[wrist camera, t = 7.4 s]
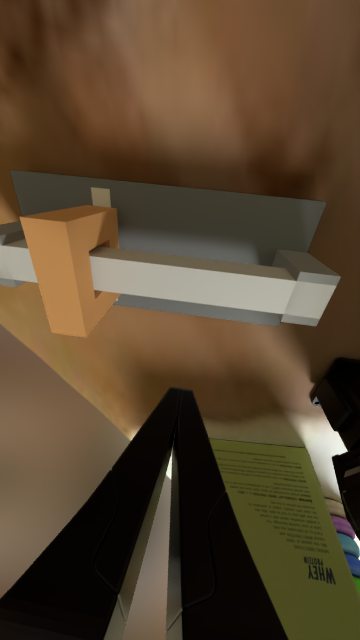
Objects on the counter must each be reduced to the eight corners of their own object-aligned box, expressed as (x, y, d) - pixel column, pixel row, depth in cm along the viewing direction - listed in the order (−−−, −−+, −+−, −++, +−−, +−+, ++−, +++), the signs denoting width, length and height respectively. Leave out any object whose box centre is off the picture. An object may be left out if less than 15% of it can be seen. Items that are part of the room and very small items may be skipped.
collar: (116, 208, 14) (65, 222, 9) (122, 292, 17) (86, 337, 12) (86, 204, 14) (19, 217, 9) (97, 289, 18) (51, 332, 12)
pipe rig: (316, 200, 14) (376, 210, 9) (273, 317, 19) (297, 365, 14) (25, 170, 15) (-67, 164, 10) (54, 288, 20) (1, 324, 15)
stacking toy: (319, 490, 34) (415, 757, 18) (356, 507, 35) (475, 768, 20) (282, 505, 38) (334, 734, 22) (317, 519, 39) (388, 744, 24)
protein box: (189, 435, 30) (174, 627, 17) (307, 446, 29) (390, 668, 16) (189, 472, 36) (178, 639, 23) (288, 483, 34) (338, 671, 21)
